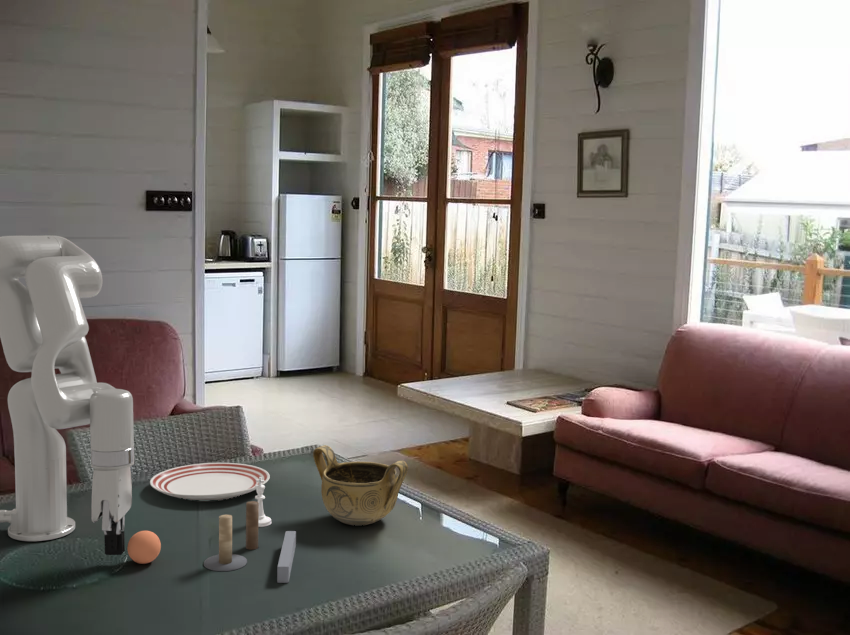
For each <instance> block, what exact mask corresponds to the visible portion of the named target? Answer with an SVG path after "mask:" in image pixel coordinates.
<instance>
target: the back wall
mask: <svg viewBox="0 0 850 635" xmlns="http://www.w3.org/2000/svg"><path fill="white" fill-rule="evenodd" d="M296 543H297V531H295V530H287V531H285V533H284V538H283V542H282V546H281V549H280V550H281V551H280V555H279V558H278V564H277V570H276V573H277V577H276V583H277V584H278V583H279V584H282V583H284V584H288V583H290V577H291V571H292V566H293V563H294V557H295V553H296V552H295V551H296V546H297V544H296Z"/></svg>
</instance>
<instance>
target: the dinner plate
mask: <svg viewBox="0 0 850 635" xmlns="http://www.w3.org/2000/svg"><path fill="white" fill-rule="evenodd" d="M270 476H271V475H270V473H269V472H268V471H267V470H266V469H264V468H261V467H258V466H256V465H251V464H245V463H236V462H235V463H234V462H204V463H203V462H202V463H193V464H186V465H182V466H178V467H177V466H176V467H173V468H169V469H166V470H163V471H161V472H159V473H157V474H155V475H154V476H152V477H151V478H150V481H149V484H150V487H152V488H153V489H154V490H156V491H158V492H160V493H162V494H164V495H167V496H170V497H174V498H177V499H181V498H183V499H182V500H186V499H190V500H189V501H192V500H218V501H224V500H223V499H226V500H230V499H229V498H231V499H234V498H233V497H235V498H238V497H241V496H243V495H245V494H248V493H251V492H254V491H256V488H255V486H256V485H259V482H256V480H259V477H262V480H264V483H262V485H264V486H265V484H266V483H268V481H269V480H270V478H271V477H270ZM240 495H241V496H240ZM237 496H238V497H237Z"/></svg>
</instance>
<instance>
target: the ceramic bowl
mask: <svg viewBox="0 0 850 635" xmlns="http://www.w3.org/2000/svg"><path fill="white" fill-rule="evenodd" d="M312 458H313V460H314V463H315V466H316V469H317V471H318V474H319V477H320V480H321V498H322V501H323V505H324V507H325V509H326V510H327V512H328V513H329V514H330V515H331V516H332V517H333V518H334V519H335V520H337V521H339V522H341V523H343V524H346V525H350V526H354V525H355V526H357V527H359V526H360V527H361V526H362V525H363V526H367V525H371V524H374V523H376V522H378V521H380V520H382V519H384V518H385V517H386V516H387V515H389V514H390V513H391V511H392V510H393V509H394V508H395V506H396V504H397V502H398V497H399V493H400V490H401V487H402V485H403V483H404V480H405V478H406V476H407V474H408V471H409V465H408V464H407V462H406V461H405V460H402V459H400V460H397V461H396V462H394V463H392V464H384V463H380V462H375V461H345V462H340V463H339V462H338V461H337V456H336V454H335V452H334V450H333V448H332V447H331V446H329V445H327V444H323V445H321V446H318V447H316V448H315V449H313V451H312ZM396 468H397V469H398V470H399V474H398V470H397V469H396Z"/></svg>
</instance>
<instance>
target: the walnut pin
mask: <svg viewBox="0 0 850 635" xmlns="http://www.w3.org/2000/svg"><path fill="white" fill-rule="evenodd" d="M258 518H259V503H258V501H255V500H252V501H246V505H245V550H246V549H247V550H249V551H251V550H253V551H254V550H257V549H258V548H259V527H258Z"/></svg>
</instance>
